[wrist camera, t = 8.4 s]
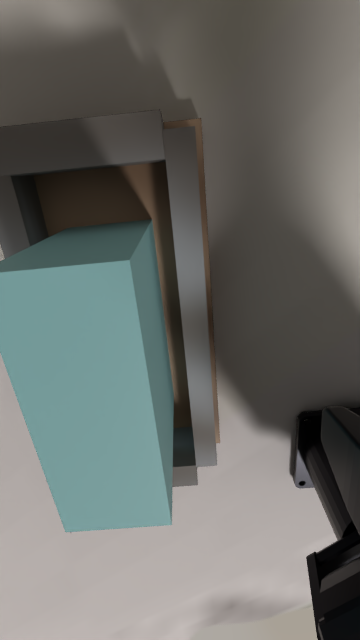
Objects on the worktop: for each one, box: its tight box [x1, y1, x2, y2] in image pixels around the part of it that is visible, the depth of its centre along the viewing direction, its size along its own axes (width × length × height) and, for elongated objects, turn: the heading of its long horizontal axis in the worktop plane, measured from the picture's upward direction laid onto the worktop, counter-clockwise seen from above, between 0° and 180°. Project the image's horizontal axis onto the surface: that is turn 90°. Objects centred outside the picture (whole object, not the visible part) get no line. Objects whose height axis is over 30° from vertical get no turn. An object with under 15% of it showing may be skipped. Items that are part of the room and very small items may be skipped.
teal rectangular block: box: [0, 219, 174, 532], centre depth 14 cm, size 10×4×8 cm, turn 5°
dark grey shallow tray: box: [0, 110, 220, 487], centre depth 17 cm, size 18×9×4 cm, turn 5°
